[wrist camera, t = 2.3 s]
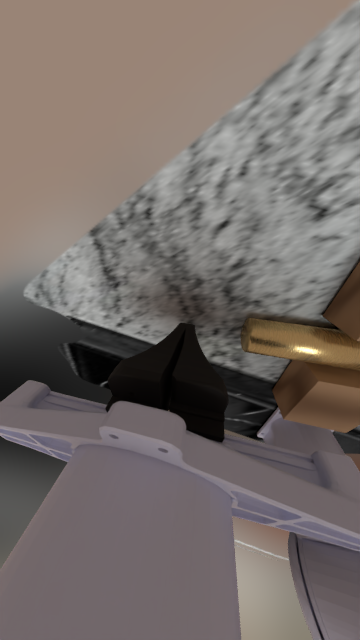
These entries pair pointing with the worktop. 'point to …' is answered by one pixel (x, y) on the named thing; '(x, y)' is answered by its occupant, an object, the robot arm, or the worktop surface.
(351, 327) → the beam
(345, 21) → the worktop surface
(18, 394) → the robot arm
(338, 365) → the axle
